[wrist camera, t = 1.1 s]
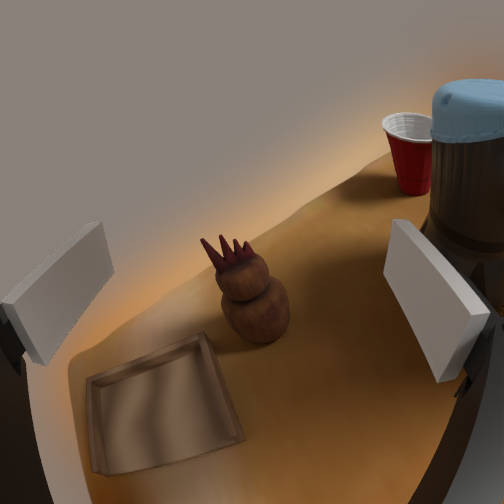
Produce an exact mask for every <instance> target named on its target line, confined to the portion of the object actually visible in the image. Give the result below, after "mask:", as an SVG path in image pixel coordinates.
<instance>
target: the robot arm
mask: <svg viewBox="0 0 504 504" xmlns="http://www.w3.org/2000/svg"><path fill="white" fill-rule="evenodd" d="M430 134H431V137H432V174H431V194H430V208H429V213H428V215H427V217H426V219H425V221H424V223H423V225H422V227H421V228H420V230H418V229H417V228H416V227H415V226H414V225H413V224H412V223H411V222H410V221H409V220H405V219H393V221H392V228H391V234H390V240H389V245H388V251H387V256H386V262H385V267H384V272H383V275H384V276H385V278H386V280H387V282H388V284H389V285H390V287H391V289H392V291H393V293H394V295H395V296H396V298H397V300H398V302H399V304H400V306H401V308H402V310H403V312H404V314H405V316H406V317H407V319H408V321H409V323H410V325H411V327H412V329H413V331H414V334H415V336H416V338H417V340H418V342H419V344H420V346H421V348H422V350H423V352H424V355H425V357H426V359H427V361H428V363H429V365H430V368H431V370H432V372H433V375H434V377H435V379H436V381H437V383H440V382H445V381H450V380H454V379H456V378H457V376H458V374H459V373H460V371H461V369H462V367H464V369H465V370H466V372H467V376H466V378H465V379H464V381H463V382H462V384H461V385H460V387H459V388H458V390H457V392H456V393H455V395H454V397H457V395H458V394H459V395H458V398H457V401H456V404H455V407H454V409H453V412H452V415H451V417H450V420H449V422H448V425H447V427H446V430H445V432H444V435H443V437H442V439H441V441H440V444H439V446H438V448H437V450H436V452H435V454H434V457H433V459H432V461H431V463H430V465H429V467H428V469H427V471H426V472H425V474H424V476H423V478H422V480H421V482H420V484H419V485H418V487H417V489H416V491H415V492H414V494H413V496H412V497H411V499H410V501H409V502H408V504H501V503H502V500H503V497H504V316H502V317H500V315H499V314H498V313H497V311H498V310H500V309H501V308H502V307H503V306H504V81H500V80H489V79H466V80H458V81H454V82H450V83H447V84H445V85H443V86H441V87H440V88H439V89H438V90H437V91H436V92H435V94H434V97H433V101H432V127H431V129H430ZM113 273H114V269H113V265H112V261H111V257H110V253H109V249H108V245H107V241H106V237H105V233H104V228H103V224H102V222H89V223H88V224H87V225H85V226H84V227H83V228H82V229H80V230H79V231H78V232H77V233H75V234H74V235H73V236H72V237H70V238H69V239H68V240H67V241H66V242H64V243H63V244H62V245H61V246H60V247H59V248H58V249H56V250H55V251H54V252H53V253H52V254H50V255H49V256H48V257H47V258H46V259H45V260H44V261H43V262H41V263H40V264H39V265H38V266H37V267H36V268H35V269H34V270H33V271H32V272H31V273H29V274H28V275H27V276H26V277H25V278H24V279H23V280H22V281H21V282H20V283H19V284H18V285H17V286H16V287H15V288H14V289H13V290H12V291H11V292H10V293H9V294H8V295H7V296H6V297H5V298H4V299H3V300H2V301H1V304H0V504H54V503H53V500H52V497H51V494H50V491H49V488H48V484H47V481H46V478H45V474H44V471H43V467H42V463H41V459H40V455H39V451H38V446H37V442H36V437H35V432H34V427H33V421H32V415H31V408H30V401H29V393H28V383H27V372H26V363H25V360H24V359H23V357H22V355H23V354H24V352H25V351H26V352H27V353H28V355H29V356H30V358H31V360H32V361H33V362H34V363H37V364H41V365H44V366H47V364H48V363H49V361H50V360H51V358H52V357H53V355H54V354H55V352H56V351H57V349H58V348H59V346H60V345H61V343H62V342H63V340H64V339H65V338H66V336H67V335H68V333H69V332H70V331H71V329H72V328H73V326H74V325H75V324H76V322H77V321H78V319H79V318H80V317H81V315H82V314H83V313H84V311H85V310H86V308H87V307H88V306H89V304H90V303H91V301H92V300H93V299H94V298H95V296H96V295H97V294H98V293H99V291H100V290H101V289H102V287H103V286H104V285H105V283H106V282H107V281H108V280H109V278H110V277H111V276H112V275H113Z"/></svg>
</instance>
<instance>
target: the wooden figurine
mask: <svg viewBox="0 0 504 504" xmlns="http://www.w3.org/2000/svg"><path fill="white" fill-rule="evenodd" d="M219 239H220V243H221V248H222V252H223V256H224V257H222V256H221V255H220V254H219V253H218V252H217V251H216V250H215V249H214V248H213V247H212V246H211V245H210V244H209V243H208V242H206V241H205V239H203V238H202V239H200V241H201V243H202V245H203V247H204V248H205V250H206V252H207V254H208V256H209V258H210V260H211V261H212V263H213V265H214V267H215V268H216V274H215V276H216V281H217V283H218V285H219V287H220V289H221V291H222V292H223V295H222V301H221V306H222V310H223V313H224V315H225V317H226V319H227V321H228V323H229V325H230V326H231V327H232V329H233V330H234V331H235V332H236V333H238V334H239V335H240V336H241V337H243V338H244V339H246V340H248V341H251V342H255V343H268V342H271V341H274V340H276V339H278V338H280V337H281V336H282V334H283V333H284V332H285V331H286V329H287V326H288V323H289V318H290V314H289V301H288V297H287V293H286V290H285V289H284V287H283V285H282V283H281V282H280V281H278V280H277V279H276V278H274V277H271V276H269V270H268V267H267V264H266V263H265V261H264V260H263V258H262V257H261V256H259V255H258V254H256V253H254V251H253V250H252V248H251V247H250V245H249V244H248V242H247V241H245V242H244V245H243V249H242V248H241V246H240V245H239V243H238V241H237V240H236V239H234V240H233V243H234V252H233V251H232V250H231V248H230V247H229V245H228V244H227V242H226V241H225V239H224V237H223V236H222V235H219Z"/></svg>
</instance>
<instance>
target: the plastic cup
mask: <svg viewBox="0 0 504 504" xmlns="http://www.w3.org/2000/svg"><path fill="white" fill-rule="evenodd" d="M382 126H383V129H384V131H385V132H386V134H387V138H388V141H389V144H390V148H391V152H392V157H393V162H394V167H395V171H396V174H397V179H398V184H399V187H400V189H401V190H402V192H404V193H406V194H408V195H412V196H421V195H425V194H426V193H428V192H429V189H430V187H431V174H432V137H431V134H430V129H431V127H432V118H431V117H429V116H426V115H422V114H417V113H396V114H392V115H389V116H387V117H385V118H384V119H383V121H382Z"/></svg>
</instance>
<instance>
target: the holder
mask: <svg viewBox="0 0 504 504" xmlns="http://www.w3.org/2000/svg"><path fill="white" fill-rule="evenodd" d="M86 397H87V421H88V436H89V447H90V457H91V465H92V472H94V473H97V474H100V475H104V476H113V475H119V474H125V473H130V472H136V471H141V470H145V469H150V468H155V467H159V466H163V465H167V464H171V463H175V462H179V461H183V460H186V459H190V458H193V457H197V456H200V455H203V454H207V453H210V452H213V451H216V450H219V449H222V448H225V447H228V446H231V445H234V444H236V443H239V442H242V441H245V437H244V434H243V432H242V429H241V426H240V424H239V421H238V418H237V416H236V413H235V410H234V407H233V405H232V402H231V399H230V396H229V393H228V390H227V388H226V385H225V382H224V379H223V376H222V373H221V370H220V367H219V364H218V361H217V358H216V355H215V352H214V349H213V345H212V342H211V341H210V340H209V338H208V337H207V336H206V334H205V333H204V331H202V332H200V333H198V334H195V335H193V336H191V337H188V338H186V339H184V340H181V341H179V342H177V343H174V344H172V345H170V346H167V347H165V348H162V349H160V350H158V351H155V352H153V353H150V354H148V355H145V356H143V357H140V358H138V359H135V360H133V361H130V362H128V363H125V364H123V365H120V366H118V367H115V368H112V369H110V370H107V371H105V372H102V373H99V374H97V375H94V376H91V377H89V378H86Z"/></svg>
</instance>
